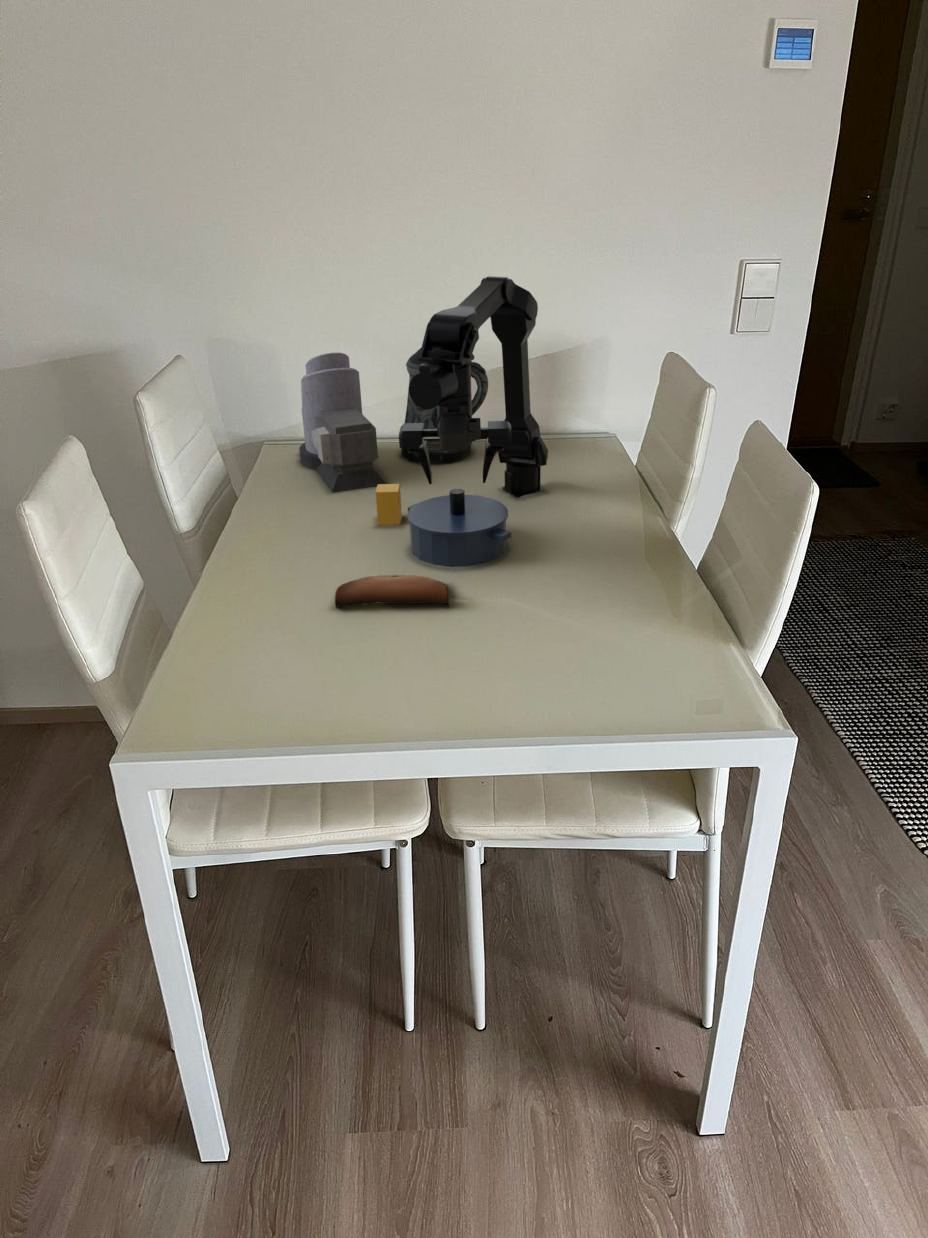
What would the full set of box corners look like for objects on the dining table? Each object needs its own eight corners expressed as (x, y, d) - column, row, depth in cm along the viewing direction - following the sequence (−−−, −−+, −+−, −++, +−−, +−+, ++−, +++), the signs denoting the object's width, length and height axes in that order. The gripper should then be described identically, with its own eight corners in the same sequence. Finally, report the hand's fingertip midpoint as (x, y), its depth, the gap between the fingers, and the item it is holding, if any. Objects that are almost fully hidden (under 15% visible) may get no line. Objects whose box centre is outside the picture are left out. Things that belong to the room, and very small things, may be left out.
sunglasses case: (450, 581, 158) (448, 558, 152) (450, 618, 155) (448, 596, 149) (341, 584, 158) (335, 561, 153) (338, 621, 155) (332, 599, 149)
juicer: (293, 451, 222) (280, 343, 210) (360, 442, 227) (351, 336, 215) (321, 493, 197) (309, 374, 185) (396, 482, 202) (388, 365, 190)
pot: (443, 520, 183) (442, 488, 180) (536, 549, 170) (536, 515, 167) (381, 549, 172) (379, 515, 169) (475, 582, 159) (474, 546, 156)
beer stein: (394, 445, 224) (387, 335, 212) (475, 437, 227) (472, 329, 215) (407, 468, 209) (400, 352, 197) (493, 459, 213) (492, 344, 201)
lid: (453, 493, 179) (452, 467, 176) (528, 514, 169) (528, 487, 166) (386, 522, 167) (384, 494, 165) (462, 547, 157) (462, 518, 155)
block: (402, 518, 184) (399, 483, 181) (400, 526, 181) (398, 491, 177) (380, 518, 184) (377, 484, 181) (378, 527, 181) (375, 492, 177)
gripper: (393, 408, 151) (399, 501, 159) (512, 405, 151) (512, 498, 158) (398, 389, 161) (404, 478, 168) (510, 386, 160) (510, 475, 168)
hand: (457, 482), depth 165 cm, fingers open, 9 cm apart
